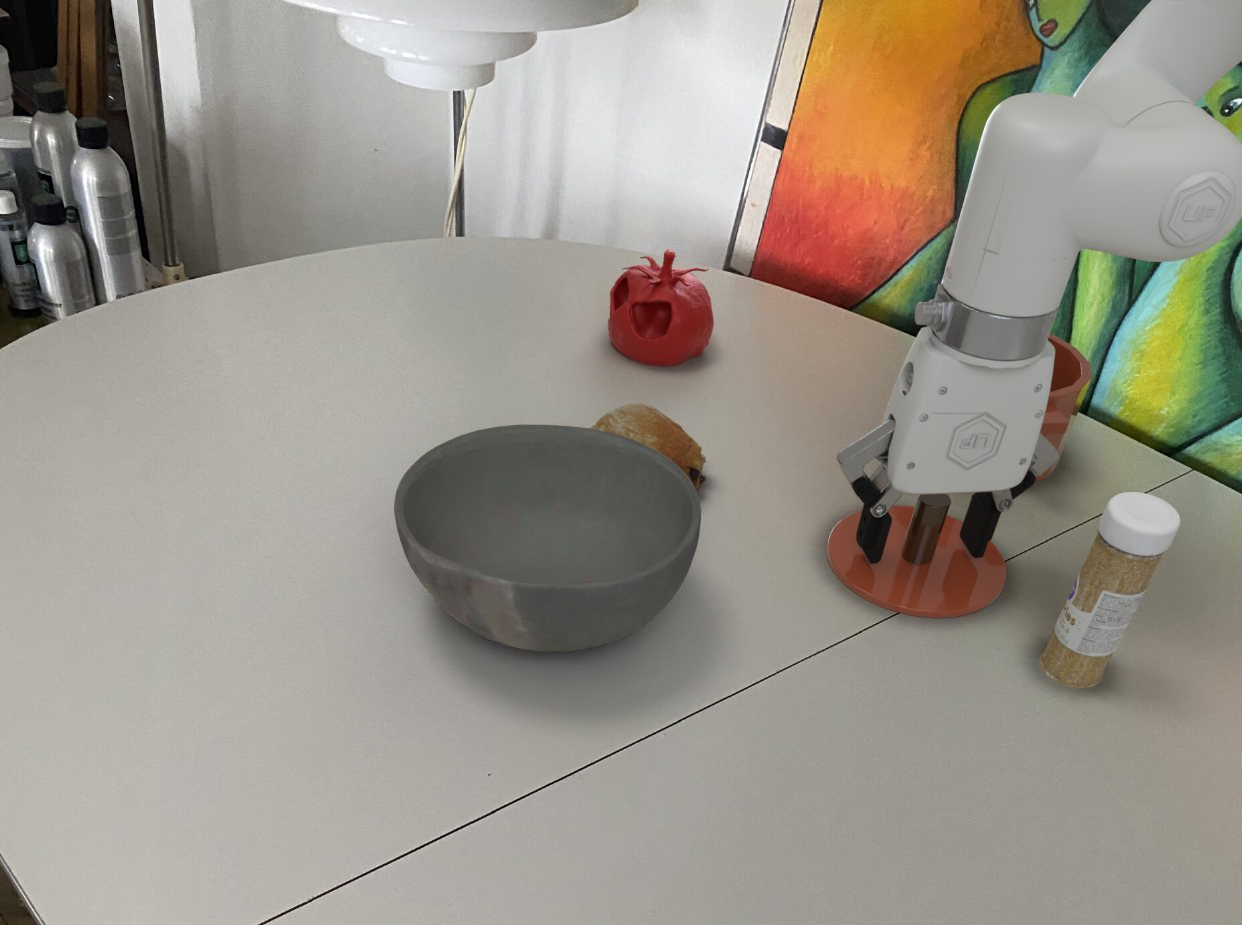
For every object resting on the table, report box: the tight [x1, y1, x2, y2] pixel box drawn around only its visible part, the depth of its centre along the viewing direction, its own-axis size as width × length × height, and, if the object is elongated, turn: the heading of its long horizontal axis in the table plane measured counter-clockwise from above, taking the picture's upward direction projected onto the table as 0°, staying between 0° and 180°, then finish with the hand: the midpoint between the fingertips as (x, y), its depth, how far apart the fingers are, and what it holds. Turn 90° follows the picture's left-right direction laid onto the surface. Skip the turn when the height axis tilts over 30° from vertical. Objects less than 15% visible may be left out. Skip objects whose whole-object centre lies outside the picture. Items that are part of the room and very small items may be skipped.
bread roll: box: [589, 402, 707, 492], centre depth 96 cm, size 10×10×8 cm
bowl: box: [393, 424, 702, 653], centre depth 82 cm, size 20×20×10 cm
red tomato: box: [607, 248, 715, 367], centre depth 109 cm, size 10×10×9 cm
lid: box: [825, 494, 1007, 619], centre depth 90 cm, size 14×14×6 cm
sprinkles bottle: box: [1038, 491, 1182, 689], centre depth 80 cm, size 5×5×14 cm
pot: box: [1035, 333, 1093, 483], centre depth 102 cm, size 13×18×8 cm
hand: (920, 549), depth 91 cm, fingers open, 7 cm apart
